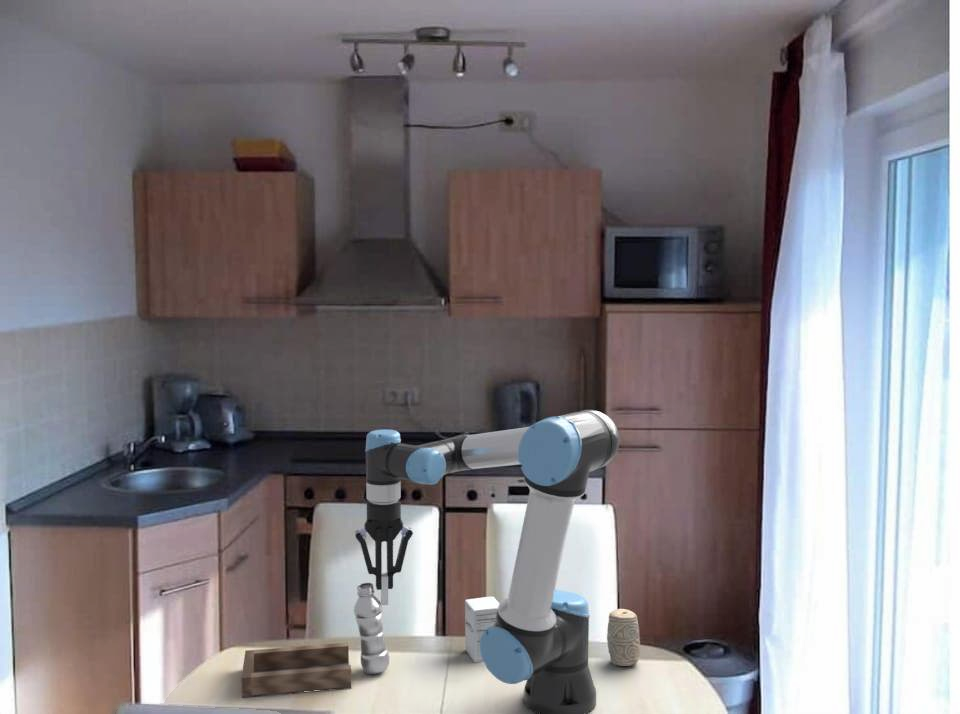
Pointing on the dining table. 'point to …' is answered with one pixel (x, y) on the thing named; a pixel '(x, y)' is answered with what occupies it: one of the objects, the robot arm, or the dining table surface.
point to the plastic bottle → (371, 630)
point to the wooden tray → (295, 669)
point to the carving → (623, 637)
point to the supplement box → (478, 623)
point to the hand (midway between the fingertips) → (384, 602)
